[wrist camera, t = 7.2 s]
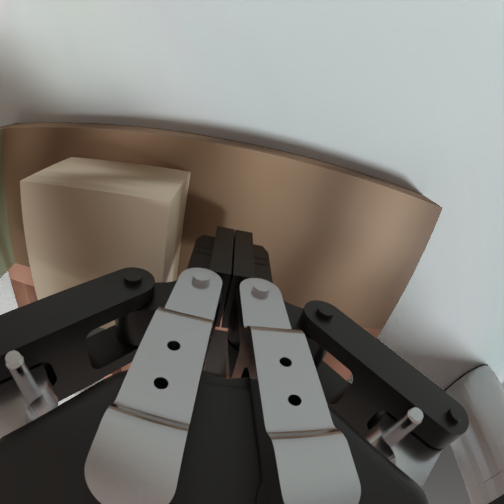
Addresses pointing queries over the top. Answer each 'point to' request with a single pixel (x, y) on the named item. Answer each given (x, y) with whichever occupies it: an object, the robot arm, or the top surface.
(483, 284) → the top surface
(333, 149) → the top surface
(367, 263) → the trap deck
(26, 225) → the birch block
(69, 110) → the top surface
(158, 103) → the top surface
